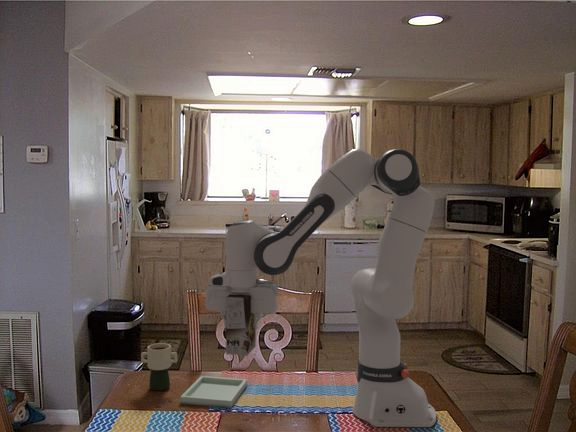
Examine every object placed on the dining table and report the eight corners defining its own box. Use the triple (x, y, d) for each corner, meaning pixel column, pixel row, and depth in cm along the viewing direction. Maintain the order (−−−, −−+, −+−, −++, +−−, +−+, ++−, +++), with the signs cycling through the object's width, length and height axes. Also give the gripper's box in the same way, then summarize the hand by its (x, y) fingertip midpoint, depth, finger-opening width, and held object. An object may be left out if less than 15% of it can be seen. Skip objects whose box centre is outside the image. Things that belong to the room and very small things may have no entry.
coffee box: (248, 356, 158) (248, 297, 157) (225, 354, 160) (225, 296, 158) (256, 346, 167) (257, 290, 166) (234, 344, 168) (235, 289, 167)
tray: (247, 385, 180) (247, 379, 180) (231, 407, 163) (231, 401, 163) (201, 382, 183) (201, 375, 183) (180, 403, 166) (180, 396, 166)
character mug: (179, 383, 181) (179, 342, 180) (175, 392, 174) (175, 350, 173) (144, 384, 181) (143, 342, 180) (138, 392, 174) (138, 350, 173)
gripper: (280, 278, 163) (280, 327, 164) (210, 274, 167) (210, 322, 168) (275, 282, 157) (275, 333, 158) (203, 278, 161) (203, 328, 162)
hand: (241, 327), depth 163 cm, fingers closed on coffee box, 6 cm apart
